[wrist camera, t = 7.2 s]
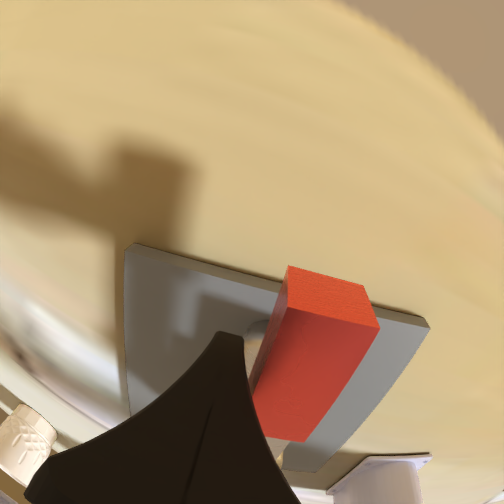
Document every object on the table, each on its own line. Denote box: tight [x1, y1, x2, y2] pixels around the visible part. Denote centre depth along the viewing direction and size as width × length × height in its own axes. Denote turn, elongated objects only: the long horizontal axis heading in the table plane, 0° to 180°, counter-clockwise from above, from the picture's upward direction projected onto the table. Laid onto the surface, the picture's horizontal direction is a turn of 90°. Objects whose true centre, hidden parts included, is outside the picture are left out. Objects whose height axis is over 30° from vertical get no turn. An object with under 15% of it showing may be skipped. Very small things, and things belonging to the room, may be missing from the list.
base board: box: [124, 243, 430, 473], centre depth 17 cm, size 17×16×1 cm
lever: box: [248, 265, 380, 460], centre depth 10 cm, size 13×3×2 cm, turn 166°
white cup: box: [0, 404, 58, 488], centre depth 22 cm, size 8×8×10 cm
